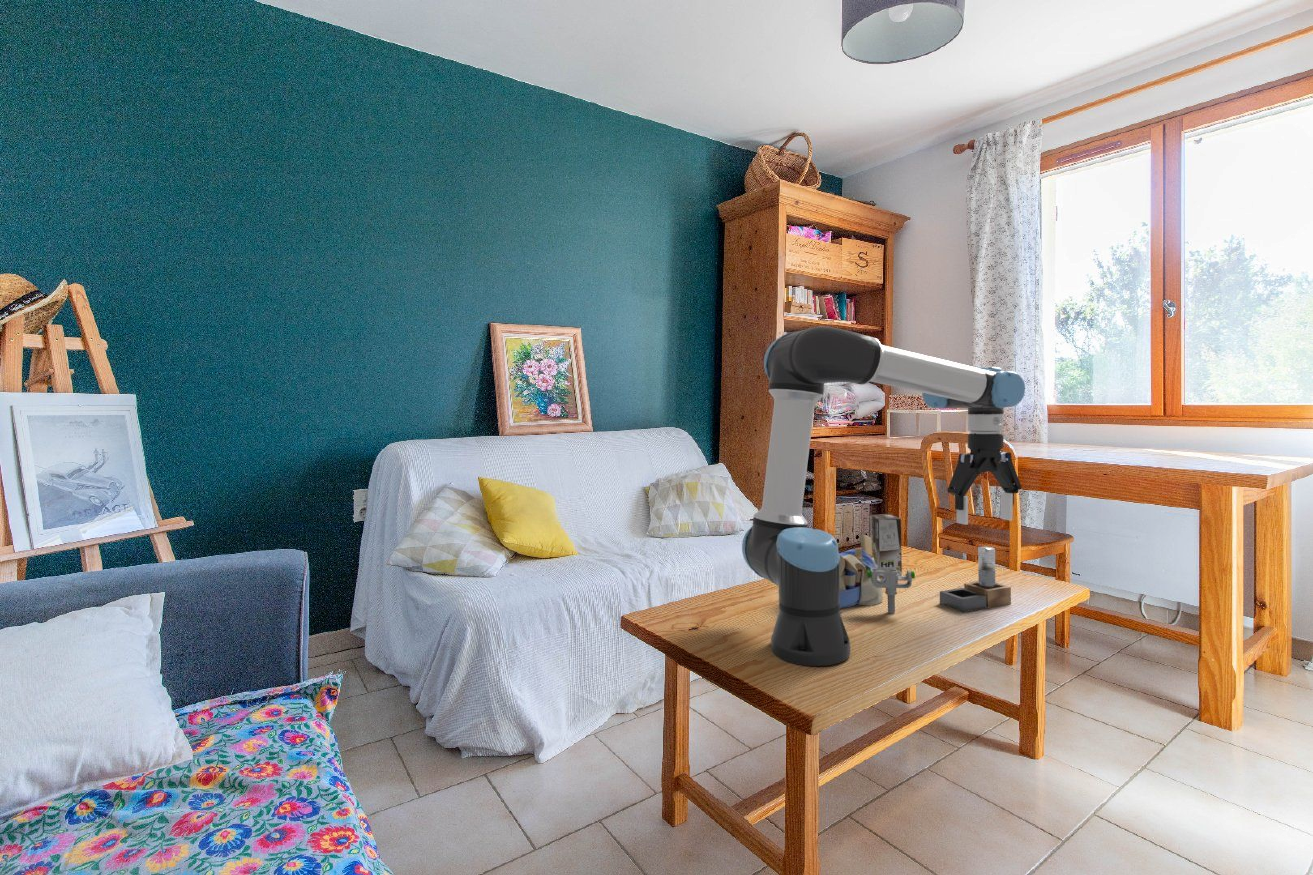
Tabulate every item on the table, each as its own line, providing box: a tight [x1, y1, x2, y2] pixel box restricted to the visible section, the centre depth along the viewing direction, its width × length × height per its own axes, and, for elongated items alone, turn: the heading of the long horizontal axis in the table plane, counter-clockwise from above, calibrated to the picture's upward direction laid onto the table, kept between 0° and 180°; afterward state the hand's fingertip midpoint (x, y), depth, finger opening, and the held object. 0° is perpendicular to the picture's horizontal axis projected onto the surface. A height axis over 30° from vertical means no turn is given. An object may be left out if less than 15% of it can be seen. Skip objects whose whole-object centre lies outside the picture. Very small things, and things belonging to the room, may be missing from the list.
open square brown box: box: [963, 580, 1012, 609], centre depth 151 cm, size 7×7×4 cm
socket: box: [939, 587, 987, 613], centre depth 149 cm, size 7×7×3 cm
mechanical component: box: [867, 569, 916, 615], centre depth 146 cm, size 3×10×10 cm, turn 78°
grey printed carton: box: [869, 513, 903, 577], centre depth 180 cm, size 9×6×16 cm
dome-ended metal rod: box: [977, 546, 996, 589], centre depth 151 cm, size 4×4×13 cm
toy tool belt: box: [839, 533, 884, 615], centre depth 154 cm, size 26×16×16 cm, turn 122°
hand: (984, 521), depth 150 cm, fingers open, 13 cm apart
